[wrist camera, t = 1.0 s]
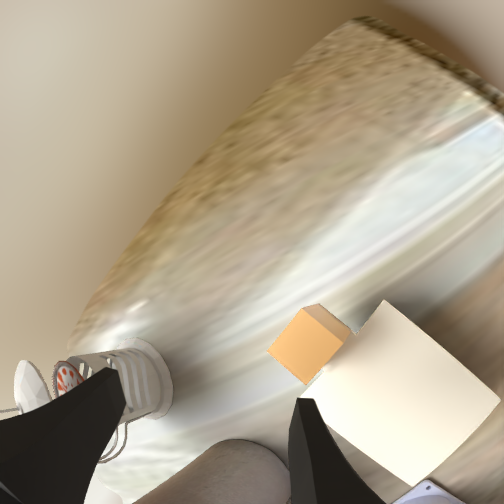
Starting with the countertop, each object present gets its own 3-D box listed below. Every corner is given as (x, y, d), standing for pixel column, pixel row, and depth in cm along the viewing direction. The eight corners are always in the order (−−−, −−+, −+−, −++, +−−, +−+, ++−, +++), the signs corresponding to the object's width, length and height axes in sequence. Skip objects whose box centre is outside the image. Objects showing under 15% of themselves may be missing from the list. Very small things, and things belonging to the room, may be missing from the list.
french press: (153, 326, 29) (-95, 337, 7) (193, 429, 26) (-33, 523, 4) (103, 349, 33) (-86, 362, 10) (135, 435, 29) (-44, 491, 7)
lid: (498, 396, 13) (521, 420, 9) (412, 481, 14) (413, 518, 10) (345, 268, 19) (335, 263, 14) (266, 366, 20) (237, 385, 16)
